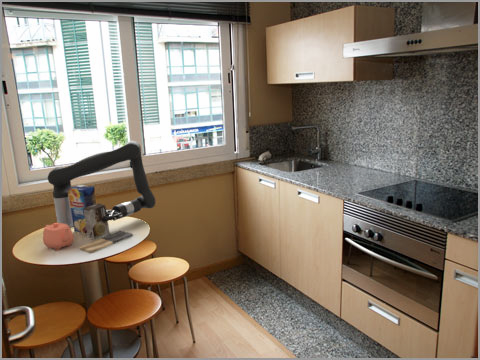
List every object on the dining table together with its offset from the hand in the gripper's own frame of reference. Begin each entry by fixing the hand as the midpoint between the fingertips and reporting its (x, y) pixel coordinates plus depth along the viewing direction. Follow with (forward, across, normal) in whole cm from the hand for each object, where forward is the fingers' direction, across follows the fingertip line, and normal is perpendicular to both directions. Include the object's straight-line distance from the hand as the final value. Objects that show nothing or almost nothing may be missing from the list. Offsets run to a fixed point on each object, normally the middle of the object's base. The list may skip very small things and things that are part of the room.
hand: (97, 218), depth 200 cm
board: (+4, +11, +9) cm, 15 cm away
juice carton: (-1, -13, +9) cm, 16 cm away
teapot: (+19, -5, +9) cm, 22 cm away
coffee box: (+1, 0, +9) cm, 9 cm away
